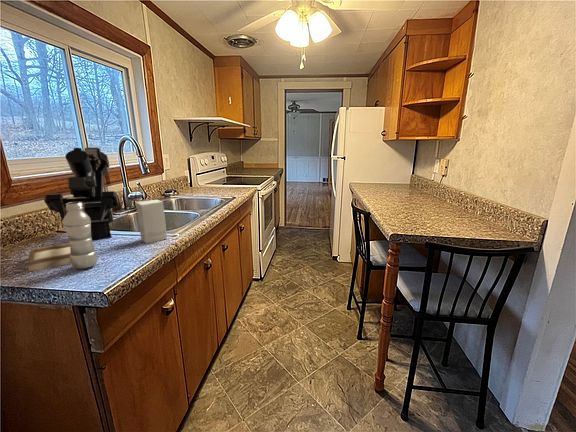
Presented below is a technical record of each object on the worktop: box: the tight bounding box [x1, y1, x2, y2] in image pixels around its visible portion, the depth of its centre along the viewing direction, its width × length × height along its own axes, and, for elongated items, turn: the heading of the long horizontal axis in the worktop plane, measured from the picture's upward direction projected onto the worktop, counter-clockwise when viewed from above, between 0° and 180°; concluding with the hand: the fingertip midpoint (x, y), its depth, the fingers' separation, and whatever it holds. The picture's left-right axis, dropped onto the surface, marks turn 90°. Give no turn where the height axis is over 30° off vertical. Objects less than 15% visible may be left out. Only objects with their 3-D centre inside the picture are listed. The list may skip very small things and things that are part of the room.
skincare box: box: [135, 199, 168, 244], centre depth 106 cm, size 8×7×16 cm
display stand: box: [26, 242, 71, 272], centre depth 88 cm, size 13×13×3 cm
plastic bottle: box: [62, 202, 98, 270], centre depth 81 cm, size 6×7×20 cm
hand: (82, 222), depth 85 cm, fingers open, 9 cm apart
